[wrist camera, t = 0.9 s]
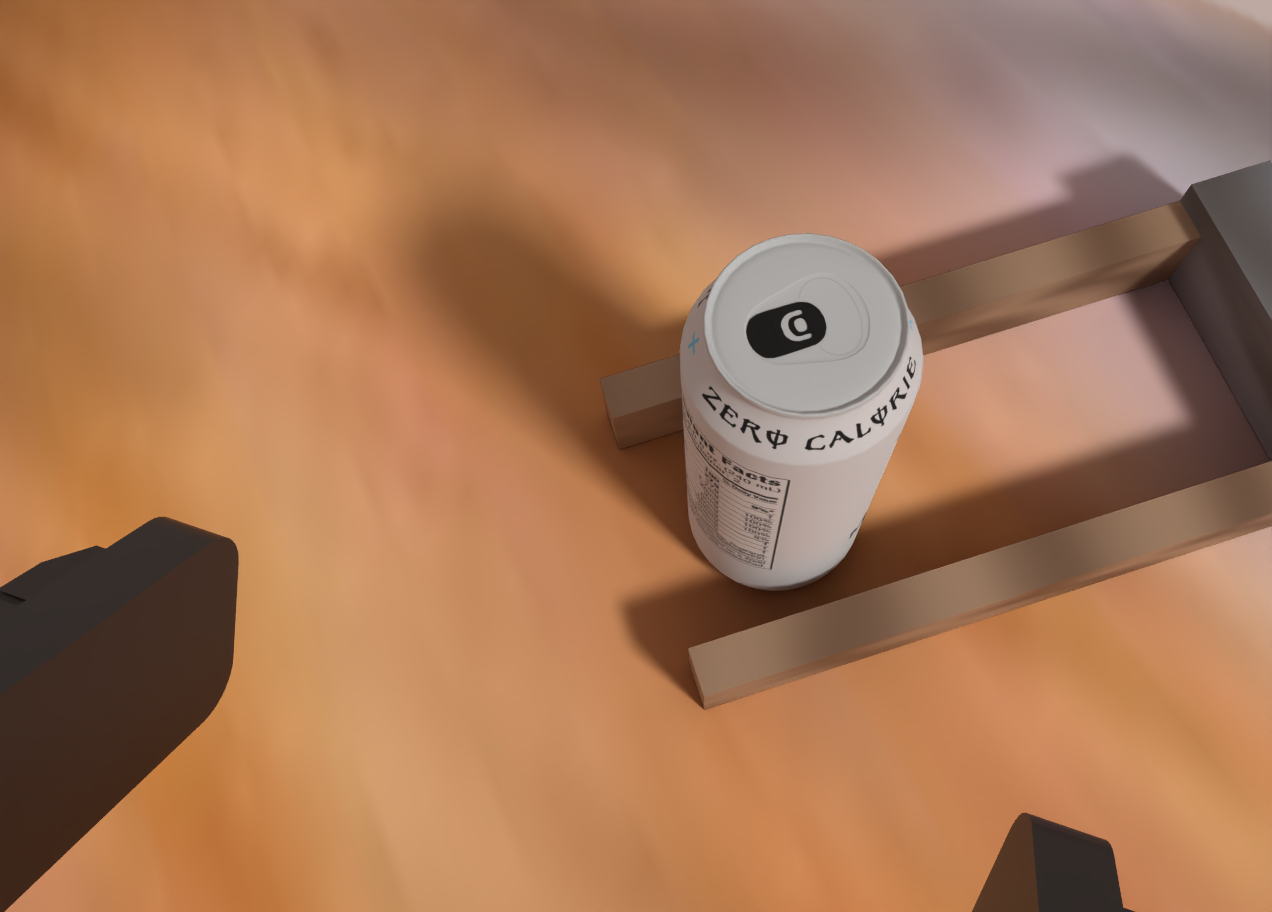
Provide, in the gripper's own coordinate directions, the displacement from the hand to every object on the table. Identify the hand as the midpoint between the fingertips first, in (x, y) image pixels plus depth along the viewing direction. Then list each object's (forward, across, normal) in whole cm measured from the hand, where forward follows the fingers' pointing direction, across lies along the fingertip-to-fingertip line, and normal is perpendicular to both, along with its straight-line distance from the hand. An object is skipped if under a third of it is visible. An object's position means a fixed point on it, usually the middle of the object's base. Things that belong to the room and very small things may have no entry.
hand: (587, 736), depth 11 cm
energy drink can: (+28, 0, +11) cm, 30 cm away
